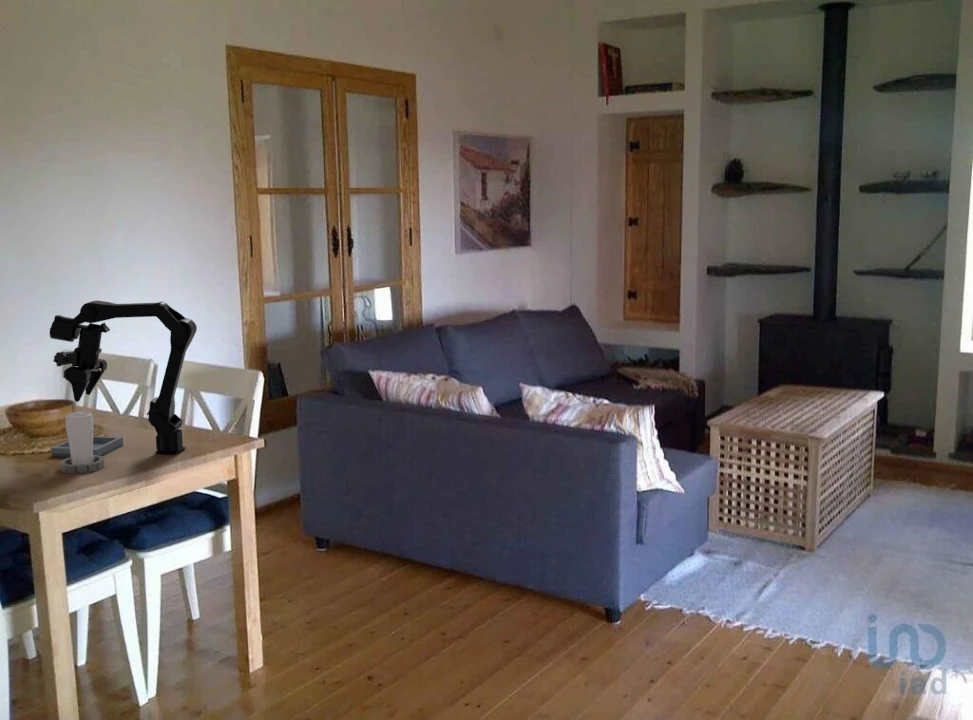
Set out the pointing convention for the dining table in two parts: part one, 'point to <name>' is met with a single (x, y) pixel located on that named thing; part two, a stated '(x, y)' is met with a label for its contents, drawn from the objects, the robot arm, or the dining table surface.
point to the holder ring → (69, 468)
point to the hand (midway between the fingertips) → (82, 397)
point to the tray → (100, 446)
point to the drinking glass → (80, 437)
